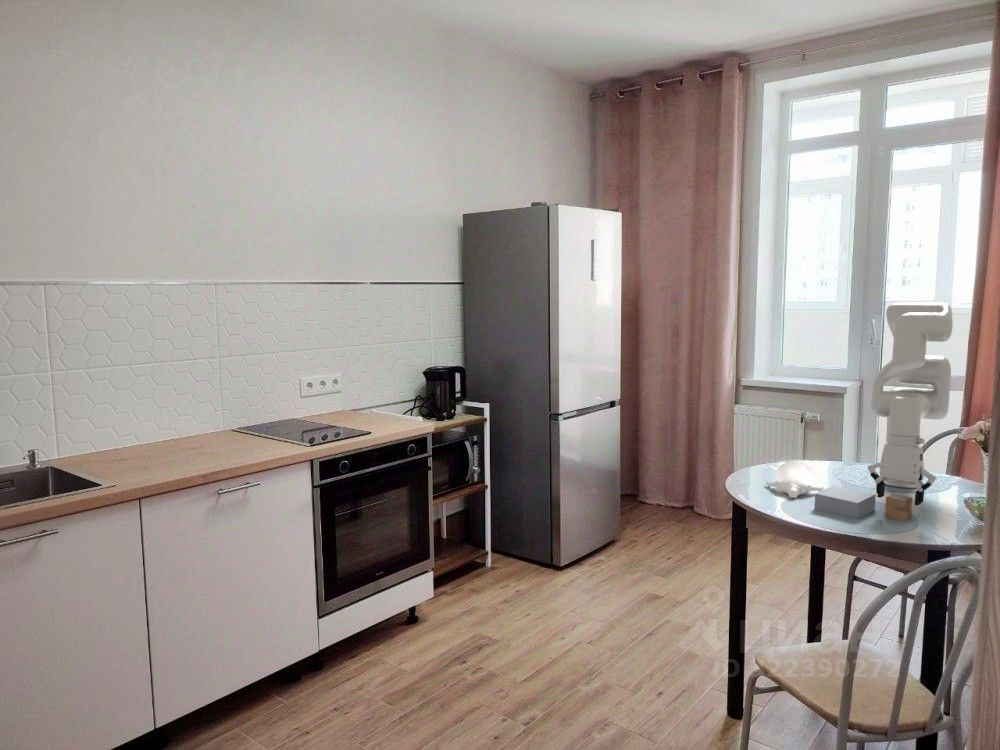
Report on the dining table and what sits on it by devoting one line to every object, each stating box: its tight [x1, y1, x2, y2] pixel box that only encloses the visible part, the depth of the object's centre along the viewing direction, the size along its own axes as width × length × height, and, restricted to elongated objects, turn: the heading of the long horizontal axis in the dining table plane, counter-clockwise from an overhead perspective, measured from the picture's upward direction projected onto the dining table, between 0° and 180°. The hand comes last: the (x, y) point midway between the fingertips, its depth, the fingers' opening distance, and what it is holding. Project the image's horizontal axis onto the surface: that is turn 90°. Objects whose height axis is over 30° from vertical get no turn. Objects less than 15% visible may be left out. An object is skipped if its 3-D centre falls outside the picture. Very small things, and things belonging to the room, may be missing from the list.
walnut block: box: [884, 492, 913, 523], centre depth 196 cm, size 5×5×6 cm
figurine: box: [765, 459, 825, 499], centre depth 224 cm, size 17×9×25 cm
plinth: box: [813, 485, 877, 520], centre depth 203 cm, size 12×12×5 cm
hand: (899, 500), depth 195 cm, fingers open, 9 cm apart
